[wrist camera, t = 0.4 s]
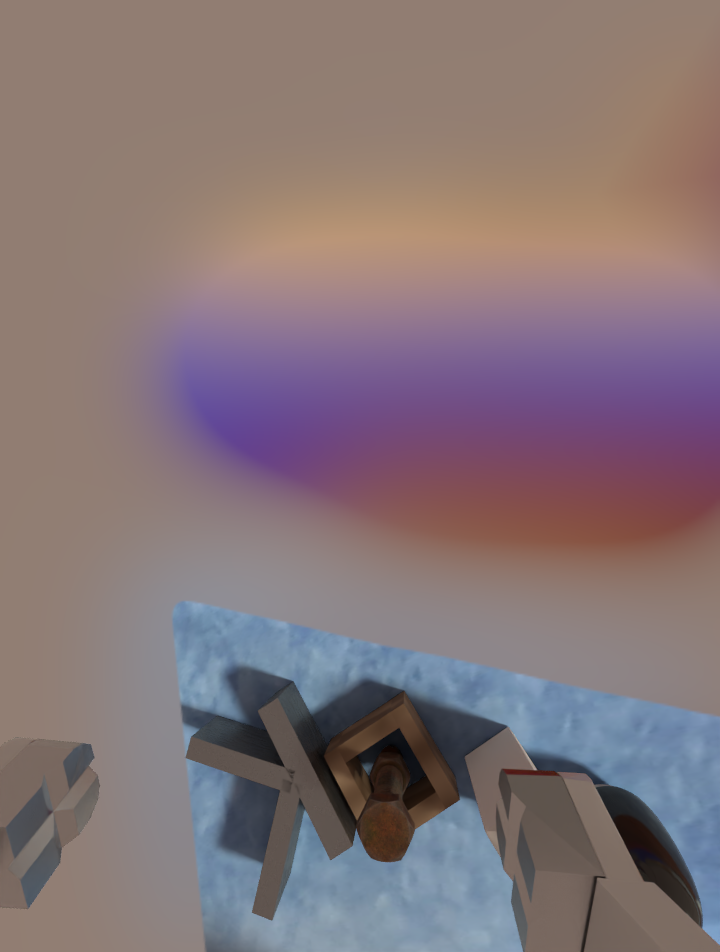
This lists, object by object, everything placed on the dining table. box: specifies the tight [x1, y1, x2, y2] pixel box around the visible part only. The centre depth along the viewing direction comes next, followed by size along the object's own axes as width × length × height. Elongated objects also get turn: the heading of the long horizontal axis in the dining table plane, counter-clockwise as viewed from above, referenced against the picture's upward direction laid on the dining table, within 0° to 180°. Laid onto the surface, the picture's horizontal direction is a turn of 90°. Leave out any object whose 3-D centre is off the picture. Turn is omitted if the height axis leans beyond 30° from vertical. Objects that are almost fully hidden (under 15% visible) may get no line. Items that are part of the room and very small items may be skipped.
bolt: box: [356, 745, 415, 862], centre depth 46 cm, size 6×5×15 cm
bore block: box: [324, 691, 460, 829], centre depth 51 cm, size 12×12×5 cm
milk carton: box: [465, 727, 537, 857], centre depth 42 cm, size 7×7×19 cm
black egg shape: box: [594, 784, 703, 928], centre depth 41 cm, size 10×10×15 cm
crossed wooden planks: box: [186, 681, 357, 920], centre depth 51 cm, size 22×14×7 cm, turn 32°
